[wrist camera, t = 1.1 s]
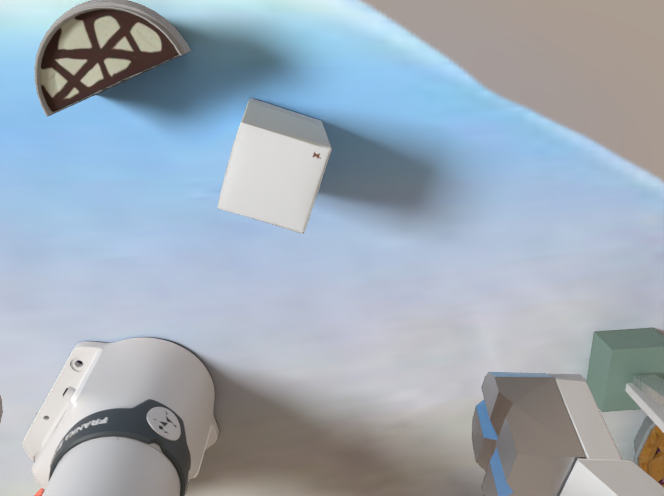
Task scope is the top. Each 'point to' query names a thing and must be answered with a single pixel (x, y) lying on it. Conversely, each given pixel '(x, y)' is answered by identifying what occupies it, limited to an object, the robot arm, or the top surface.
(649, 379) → the tongs arm
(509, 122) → the top surface
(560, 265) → the top surface
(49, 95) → the food container
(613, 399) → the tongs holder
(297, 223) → the supplement box
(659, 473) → the pie
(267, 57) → the top surface
